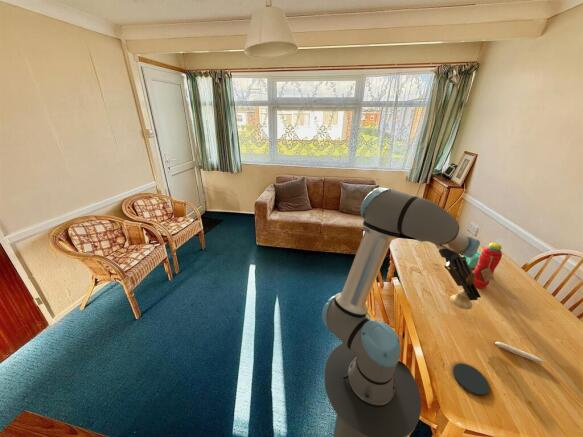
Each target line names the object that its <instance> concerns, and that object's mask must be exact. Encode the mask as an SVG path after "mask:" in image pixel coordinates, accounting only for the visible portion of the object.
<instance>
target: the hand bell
mask: <svg viewBox="0 0 583 437" xmlns="http://www.w3.org/2000/svg"><path fill="white" fill-rule="evenodd" d="M474 281H475V273H473V272H472V273H471V274H470V275H469V276H468V277H467V279H466V282H467V284H470V286H471V285H472V284H473V283H474ZM449 300H450V302H451V303H452V304H453V305H454V306H456V307H458V308H460V309H462V310H472V308H473V303H472V301H471V300H470V299H469V297H468V296H467V294H466V292H465V290H464V289H459V290H458V291H457V293H456V294H453V295H451V296H450V297H449Z"/></svg>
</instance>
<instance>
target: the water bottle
mask: <svg viewBox="0 0 583 437" xmlns="http://www.w3.org/2000/svg"><path fill="white" fill-rule="evenodd" d="M480 252H481V254H480V257H479V260H478V263H477V265H476V268H475V269H473V271H472V273H475V281H474V285H475V287H476V288H477V289H478V288H479V289H485V288H487V287H488V286H489V285H490V282H491V281H492V280H494V279H495V278H494V272H495V270H496V268H497V267H498V265H499V263H500V262H501V259H502V257H503V252H502V245H501V244H499V243H496V242H490V243H489V244H488V246H486V247H484V248H483V249H482V250H481V251H480Z"/></svg>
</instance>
